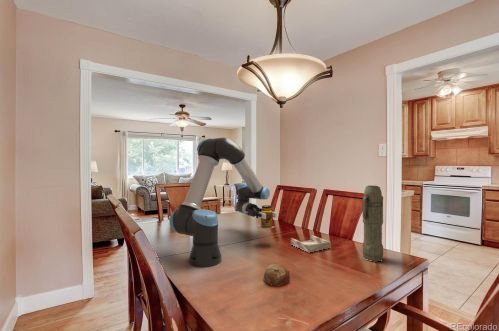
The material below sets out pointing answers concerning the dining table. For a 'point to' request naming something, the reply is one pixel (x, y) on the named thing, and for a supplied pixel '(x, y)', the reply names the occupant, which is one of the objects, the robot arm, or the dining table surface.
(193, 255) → the robot arm
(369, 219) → the thermos
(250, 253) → the dining table surface
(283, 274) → the bread roll
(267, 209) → the condiment
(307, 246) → the u rest
